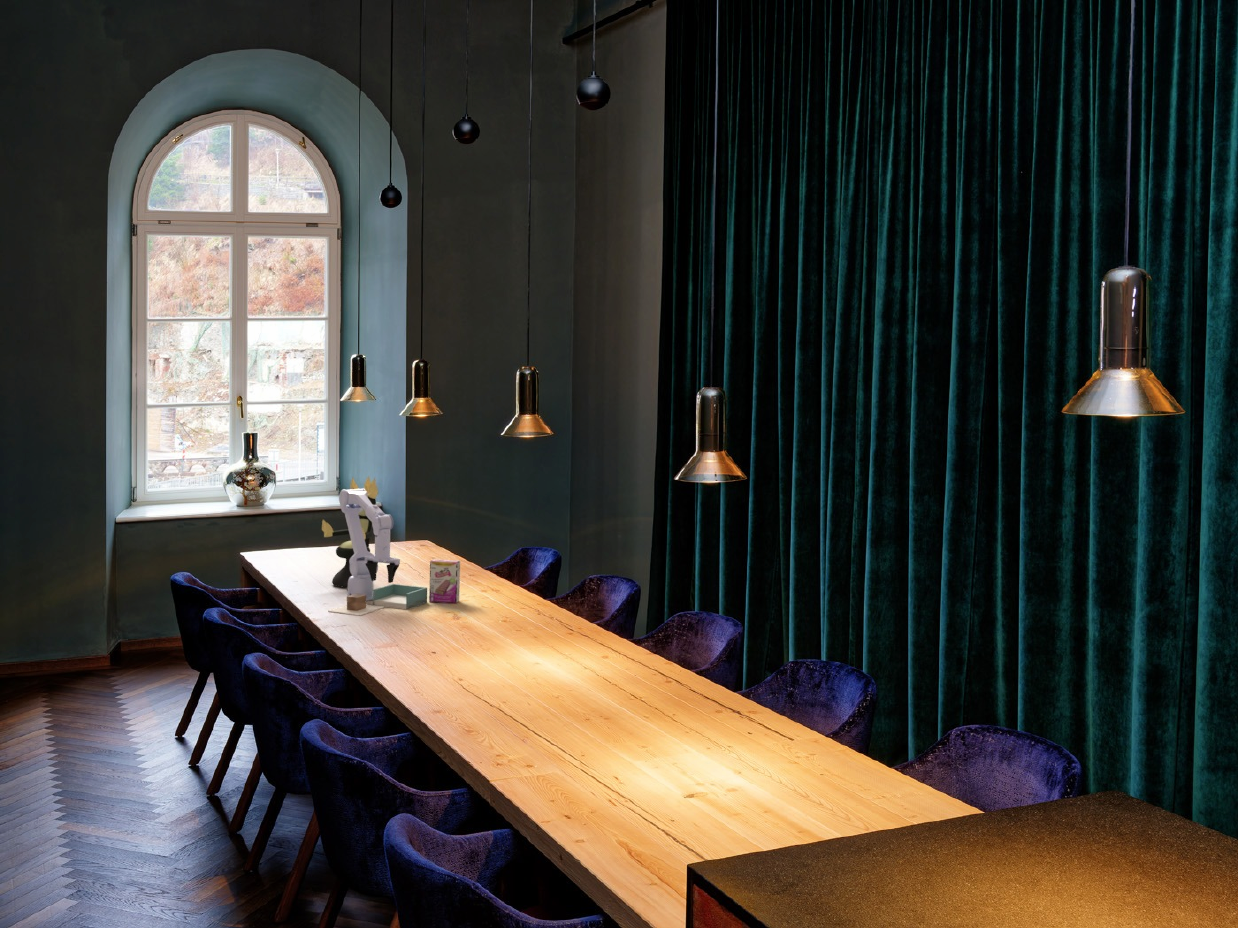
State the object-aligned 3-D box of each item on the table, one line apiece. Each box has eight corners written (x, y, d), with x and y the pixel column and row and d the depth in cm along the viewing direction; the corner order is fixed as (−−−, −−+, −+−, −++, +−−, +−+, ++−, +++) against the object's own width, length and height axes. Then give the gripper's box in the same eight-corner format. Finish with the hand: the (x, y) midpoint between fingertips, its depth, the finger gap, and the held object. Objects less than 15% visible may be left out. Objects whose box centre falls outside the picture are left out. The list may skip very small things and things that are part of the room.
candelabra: (319, 586, 491) (320, 477, 487) (351, 577, 512) (352, 473, 508) (358, 591, 484) (359, 480, 480) (388, 582, 505) (390, 476, 500)
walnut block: (346, 609, 447) (346, 596, 447) (355, 606, 453) (356, 593, 452) (357, 610, 446) (357, 597, 445) (366, 607, 451) (366, 594, 451)
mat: (328, 611, 444) (328, 610, 444) (353, 603, 459) (353, 602, 459) (359, 615, 439) (359, 614, 439) (384, 607, 454) (384, 606, 454)
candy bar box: (428, 602, 466) (429, 560, 465) (432, 599, 471) (432, 558, 470) (456, 603, 465) (457, 562, 464) (459, 601, 470) (460, 560, 469)
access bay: (373, 605, 458) (373, 589, 458) (392, 598, 471) (393, 583, 470) (408, 609, 452) (408, 593, 452) (427, 602, 465) (427, 587, 465)
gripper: (360, 546, 455) (360, 581, 456) (392, 549, 449) (392, 584, 451) (370, 543, 461) (370, 578, 463) (403, 546, 456) (402, 581, 457)
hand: (382, 581), depth 457 cm, fingers open, 7 cm apart
